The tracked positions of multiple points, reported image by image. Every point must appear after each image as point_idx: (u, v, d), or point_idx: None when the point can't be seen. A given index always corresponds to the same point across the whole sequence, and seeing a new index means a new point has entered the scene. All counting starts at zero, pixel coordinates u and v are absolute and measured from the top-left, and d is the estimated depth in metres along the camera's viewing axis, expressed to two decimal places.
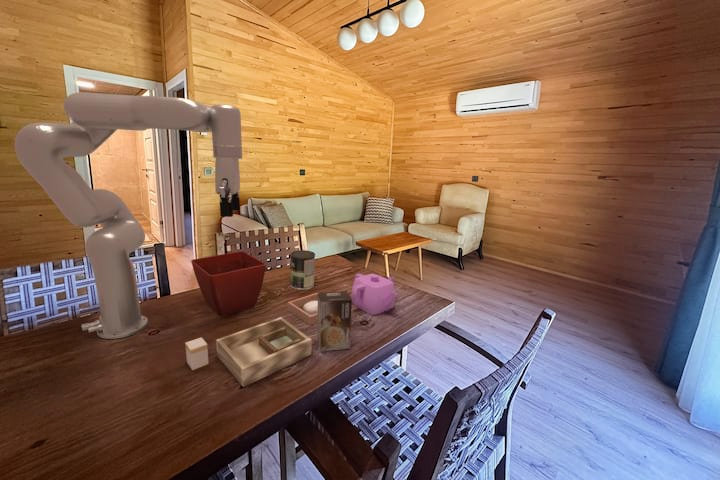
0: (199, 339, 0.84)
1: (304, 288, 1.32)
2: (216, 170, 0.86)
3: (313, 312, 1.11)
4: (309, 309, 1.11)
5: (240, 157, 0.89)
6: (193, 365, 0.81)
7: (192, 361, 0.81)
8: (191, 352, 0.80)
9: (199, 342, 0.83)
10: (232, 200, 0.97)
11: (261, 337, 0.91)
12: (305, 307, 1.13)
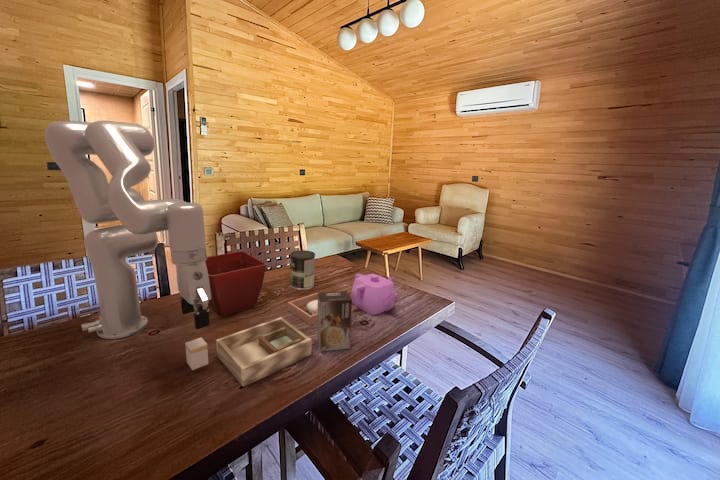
0: (199, 339, 0.84)
1: (304, 288, 1.32)
2: None
3: (316, 311, 1.12)
4: (312, 308, 1.12)
5: None
6: (193, 365, 0.81)
7: (192, 361, 0.81)
8: (191, 352, 0.80)
9: (199, 342, 0.83)
10: None
11: (261, 337, 0.91)
12: (308, 306, 1.14)
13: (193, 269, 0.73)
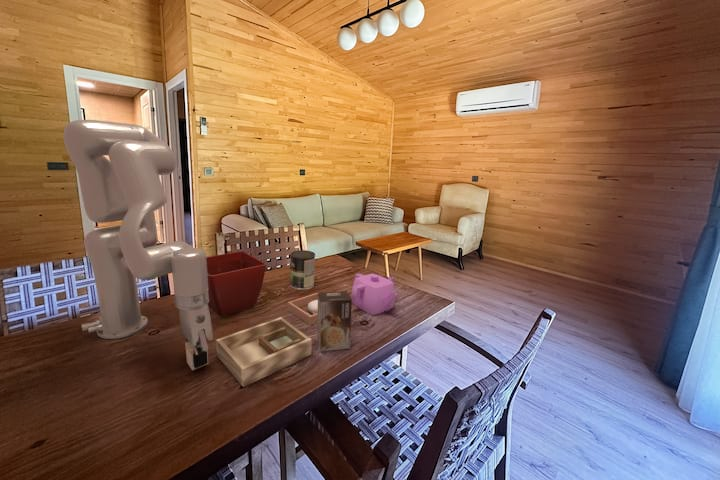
0: None
1: (304, 288, 1.32)
2: None
3: (317, 311, 1.12)
4: (313, 307, 1.12)
5: None
6: (193, 365, 0.81)
7: (192, 361, 0.81)
8: (191, 352, 0.80)
9: None
10: None
11: (261, 337, 0.91)
12: (309, 306, 1.14)
13: (196, 313, 0.76)
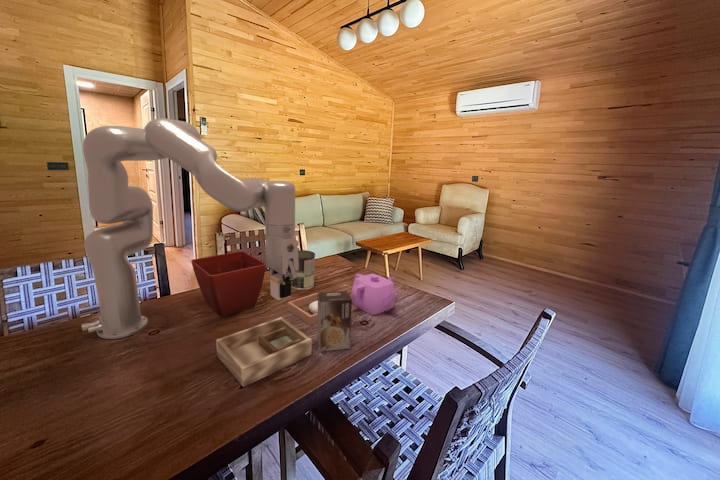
0: None
1: (304, 288, 1.32)
2: None
3: None
4: (315, 308, 1.12)
5: None
6: (279, 295, 0.85)
7: (278, 291, 0.85)
8: (278, 282, 0.84)
9: None
10: None
11: (261, 337, 0.91)
12: (311, 307, 1.13)
13: (287, 242, 0.80)
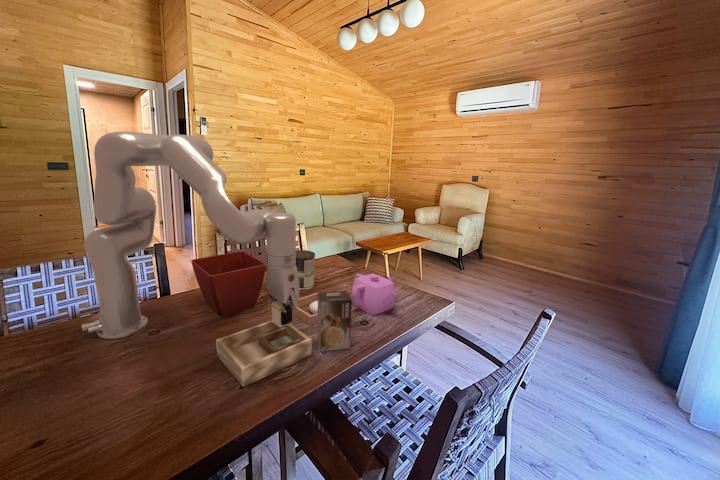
0: None
1: (304, 288, 1.32)
2: None
3: None
4: (316, 308, 1.12)
5: (267, 264, 0.84)
6: (280, 322, 0.88)
7: (280, 318, 0.87)
8: (279, 310, 0.87)
9: None
10: None
11: (261, 337, 0.91)
12: (311, 307, 1.13)
13: (288, 272, 0.83)
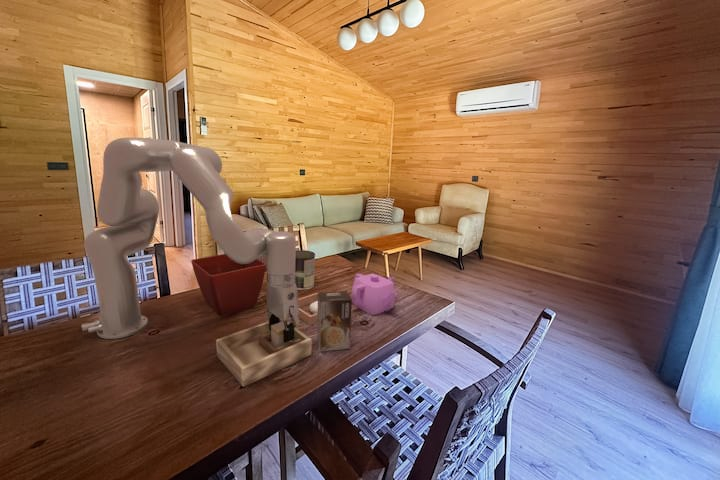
0: (282, 322, 0.93)
1: (304, 288, 1.32)
2: None
3: None
4: (316, 308, 1.12)
5: (267, 282, 0.86)
6: (279, 345, 0.90)
7: (279, 342, 0.89)
8: (278, 333, 0.88)
9: (283, 325, 0.91)
10: None
11: (261, 337, 0.91)
12: (311, 307, 1.13)
13: (288, 290, 0.84)
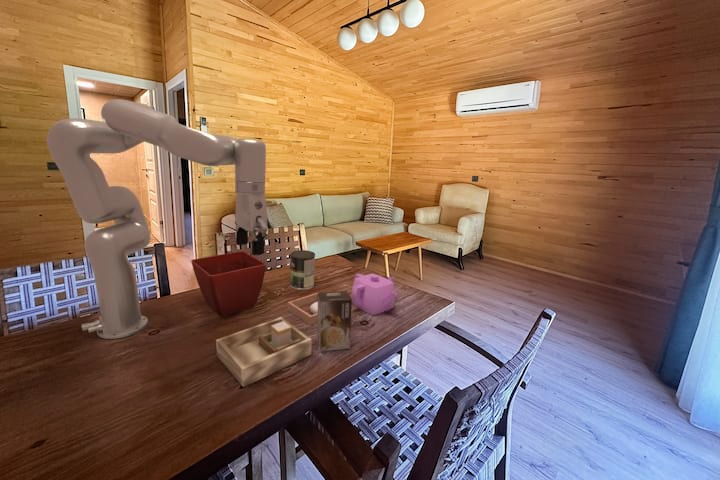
0: (282, 322, 0.93)
1: (304, 288, 1.32)
2: None
3: None
4: (317, 309, 1.11)
5: (235, 191, 0.83)
6: (279, 345, 0.90)
7: (279, 342, 0.89)
8: (278, 333, 0.88)
9: (283, 325, 0.91)
10: None
11: (261, 337, 0.91)
12: (312, 308, 1.13)
13: (255, 199, 0.82)
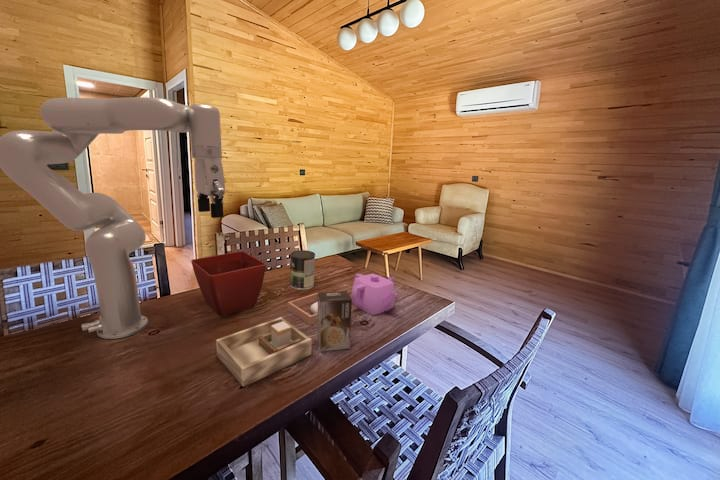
0: (282, 322, 0.93)
1: (304, 288, 1.32)
2: None
3: None
4: (317, 309, 1.11)
5: (192, 156, 0.86)
6: (279, 345, 0.90)
7: (279, 342, 0.89)
8: (278, 333, 0.88)
9: (283, 325, 0.91)
10: None
11: (261, 337, 0.91)
12: (313, 308, 1.13)
13: (211, 162, 0.85)
